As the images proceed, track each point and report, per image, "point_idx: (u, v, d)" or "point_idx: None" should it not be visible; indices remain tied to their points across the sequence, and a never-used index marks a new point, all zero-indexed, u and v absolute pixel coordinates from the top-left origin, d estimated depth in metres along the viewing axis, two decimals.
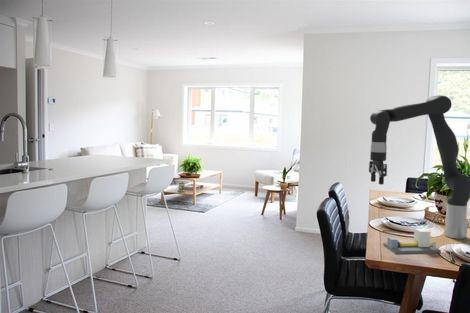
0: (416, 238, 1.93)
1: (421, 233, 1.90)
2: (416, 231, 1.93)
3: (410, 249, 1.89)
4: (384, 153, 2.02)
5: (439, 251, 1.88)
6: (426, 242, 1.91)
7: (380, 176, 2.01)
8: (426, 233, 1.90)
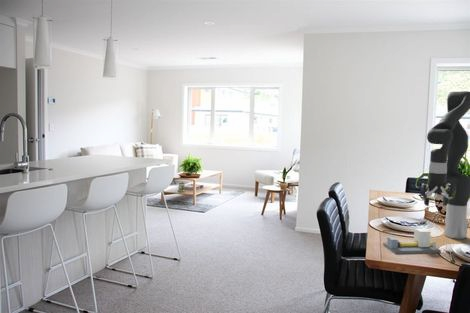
0: (416, 238, 1.93)
1: (421, 233, 1.90)
2: (416, 231, 1.93)
3: (410, 249, 1.89)
4: None
5: (439, 251, 1.88)
6: (426, 242, 1.91)
7: (448, 197, 1.92)
8: (426, 233, 1.90)
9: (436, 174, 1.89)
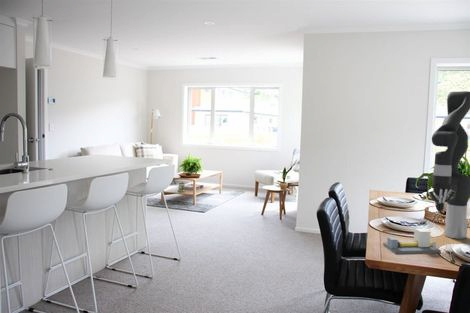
0: (416, 238, 1.93)
1: (421, 233, 1.90)
2: (416, 231, 1.93)
3: (410, 249, 1.89)
4: None
5: (439, 251, 1.88)
6: (426, 242, 1.91)
7: (443, 203, 1.91)
8: (426, 233, 1.90)
9: (441, 177, 1.88)
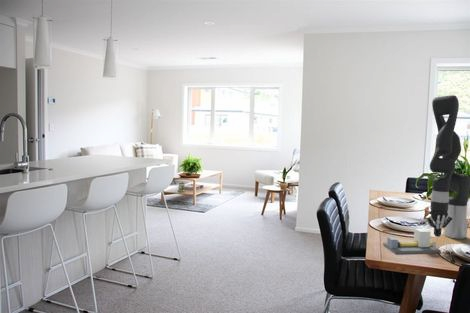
0: (416, 238, 1.93)
1: (421, 233, 1.90)
2: (416, 231, 1.93)
3: (410, 249, 1.89)
4: None
5: (439, 251, 1.88)
6: (426, 242, 1.91)
7: (441, 228, 1.93)
8: (426, 233, 1.90)
9: (439, 203, 1.89)
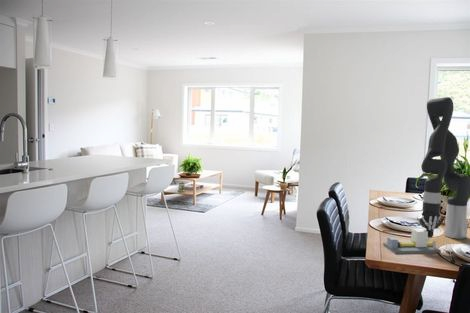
0: (413, 238, 1.93)
1: (418, 233, 1.90)
2: (413, 231, 1.93)
3: (410, 249, 1.89)
4: None
5: (439, 251, 1.88)
6: (423, 242, 1.91)
7: (433, 229, 1.92)
8: (423, 233, 1.90)
9: (431, 204, 1.88)
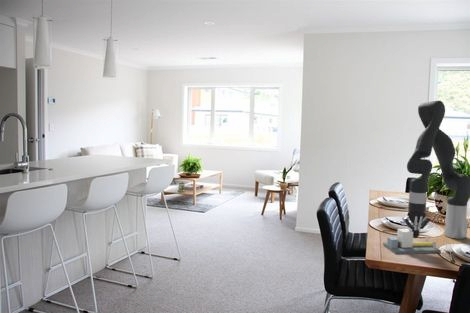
0: (399, 238, 1.92)
1: (404, 233, 1.89)
2: (399, 231, 1.92)
3: (410, 249, 1.89)
4: None
5: (439, 251, 1.88)
6: (409, 242, 1.90)
7: (418, 230, 1.91)
8: (409, 233, 1.90)
9: (416, 204, 1.88)
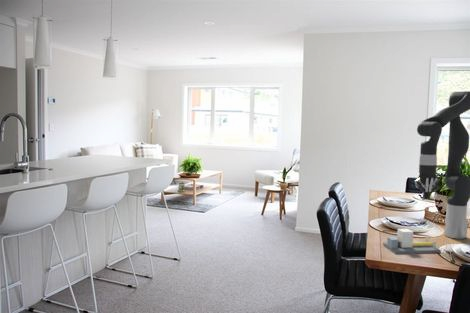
0: (399, 238, 1.92)
1: (404, 233, 1.89)
2: (399, 231, 1.92)
3: (410, 249, 1.89)
4: None
5: (439, 251, 1.88)
6: (409, 242, 1.90)
7: (430, 191, 1.95)
8: (409, 233, 1.90)
9: (427, 166, 1.92)
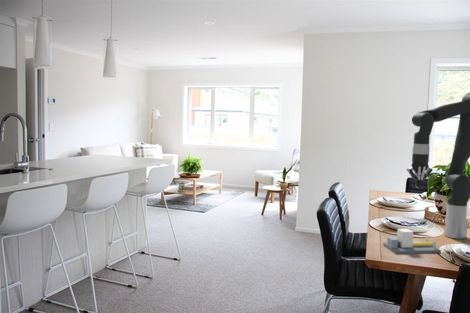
0: (399, 238, 1.92)
1: (404, 233, 1.89)
2: (399, 231, 1.92)
3: (410, 249, 1.89)
4: None
5: (439, 251, 1.88)
6: (409, 242, 1.90)
7: (422, 179, 2.04)
8: (409, 233, 1.90)
9: (419, 155, 2.00)
